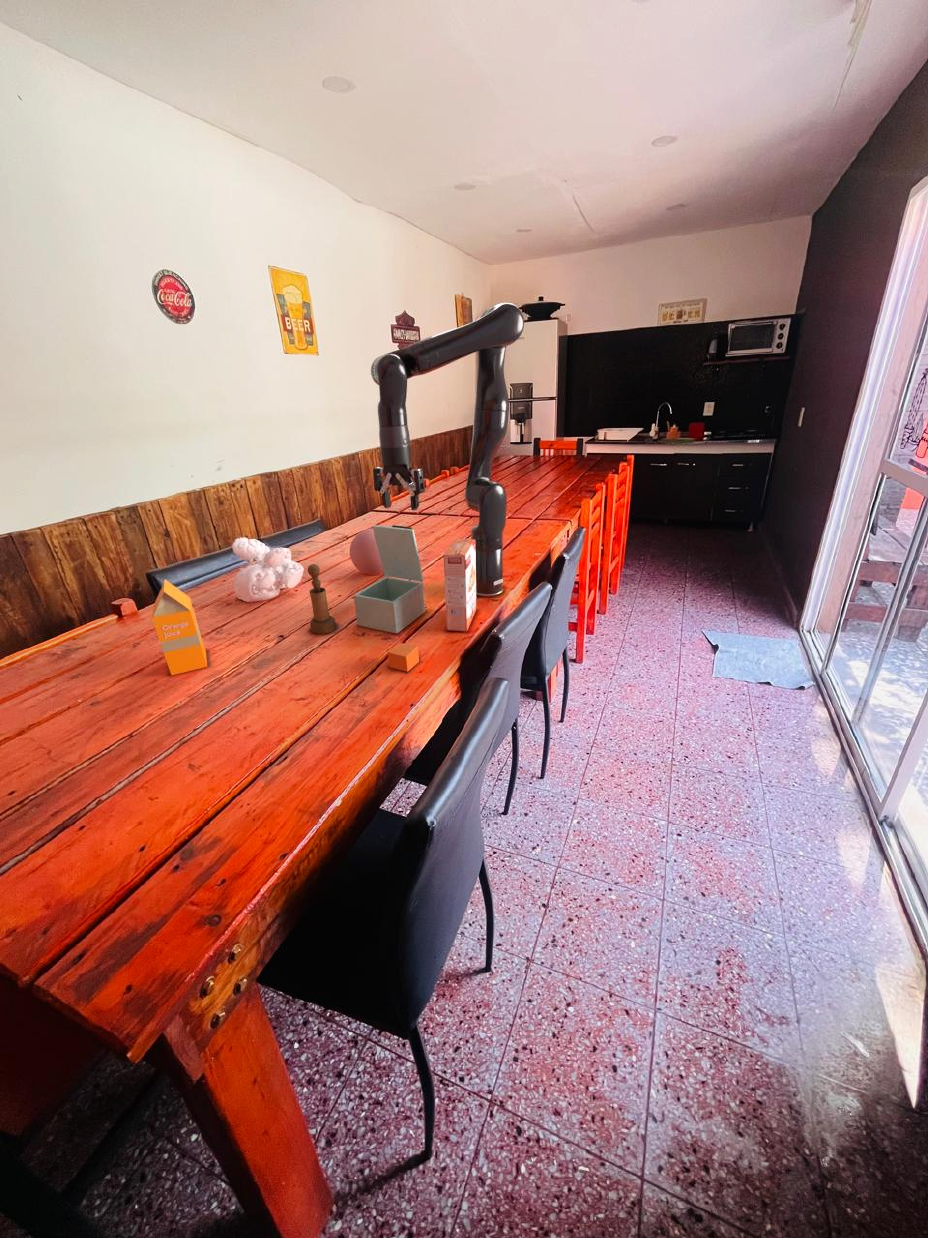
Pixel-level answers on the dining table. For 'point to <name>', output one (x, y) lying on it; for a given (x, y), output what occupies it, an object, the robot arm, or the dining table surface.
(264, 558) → the white lumpy blob
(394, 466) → the robot arm
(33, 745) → the dining table surface
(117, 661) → the dining table surface
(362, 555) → the balloon
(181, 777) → the dining table surface
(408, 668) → the orange block
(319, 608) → the mortar and pestle
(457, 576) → the cracker box
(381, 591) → the grey storage box
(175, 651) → the orange juice
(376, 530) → the box lid
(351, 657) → the dining table surface
